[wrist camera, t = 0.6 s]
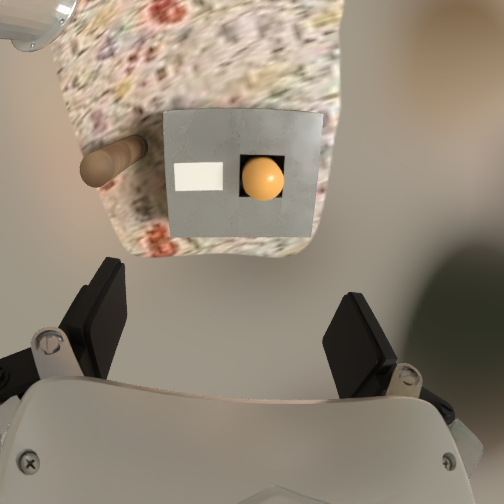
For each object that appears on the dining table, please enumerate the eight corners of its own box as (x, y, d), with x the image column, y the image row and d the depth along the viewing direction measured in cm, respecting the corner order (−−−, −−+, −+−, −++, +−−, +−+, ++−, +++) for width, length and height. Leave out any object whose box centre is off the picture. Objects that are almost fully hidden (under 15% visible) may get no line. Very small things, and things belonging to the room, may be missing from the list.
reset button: (241, 188, 32) (242, 200, 28) (242, 154, 30) (243, 161, 26) (276, 189, 32) (282, 201, 29) (279, 154, 30) (285, 162, 27)
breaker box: (179, 217, 37) (170, 237, 32) (174, 109, 30) (162, 111, 25) (299, 217, 38) (310, 237, 33) (308, 111, 31) (323, 114, 26)
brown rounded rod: (119, 150, 32) (74, 175, 22) (132, 130, 31) (89, 145, 21) (138, 164, 33) (100, 194, 23) (152, 143, 32) (116, 164, 22)
